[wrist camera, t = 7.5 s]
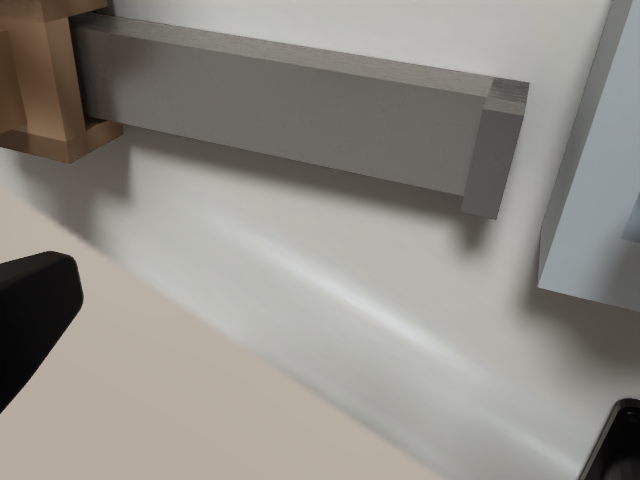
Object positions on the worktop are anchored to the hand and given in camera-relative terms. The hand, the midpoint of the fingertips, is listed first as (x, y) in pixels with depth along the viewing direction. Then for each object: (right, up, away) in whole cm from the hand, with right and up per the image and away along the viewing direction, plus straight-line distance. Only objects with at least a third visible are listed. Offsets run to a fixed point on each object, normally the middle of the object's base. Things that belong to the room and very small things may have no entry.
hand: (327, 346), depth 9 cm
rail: (-4, +7, +12) cm, 15 cm away
